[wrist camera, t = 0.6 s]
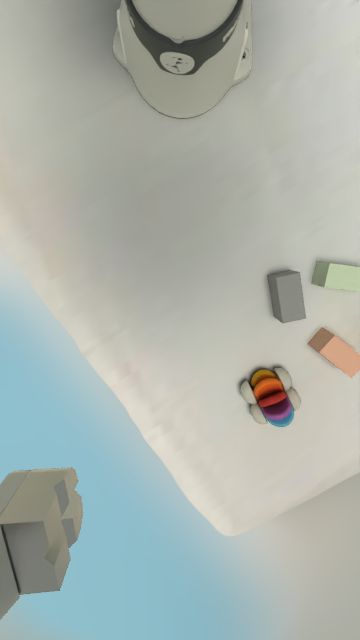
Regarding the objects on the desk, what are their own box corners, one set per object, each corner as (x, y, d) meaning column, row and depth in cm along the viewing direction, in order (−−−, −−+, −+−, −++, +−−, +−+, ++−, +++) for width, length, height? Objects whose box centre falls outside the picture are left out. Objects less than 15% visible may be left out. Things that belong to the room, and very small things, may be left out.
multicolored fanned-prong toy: (279, 356, 52) (294, 374, 45) (299, 402, 55) (317, 426, 47) (233, 377, 53) (242, 397, 46) (255, 422, 55) (267, 447, 48)
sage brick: (311, 283, 50) (324, 287, 45) (316, 261, 49) (330, 263, 44) (353, 288, 50) (370, 293, 45) (359, 267, 49) (377, 269, 45)
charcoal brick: (267, 275, 49) (275, 277, 45) (288, 270, 49) (299, 272, 45) (273, 316, 51) (282, 323, 46) (294, 311, 51) (305, 318, 46)
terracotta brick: (307, 343, 52) (319, 352, 48) (321, 327, 51) (335, 335, 47) (337, 366, 53) (351, 377, 49) (351, 351, 52) (367, 361, 48)
